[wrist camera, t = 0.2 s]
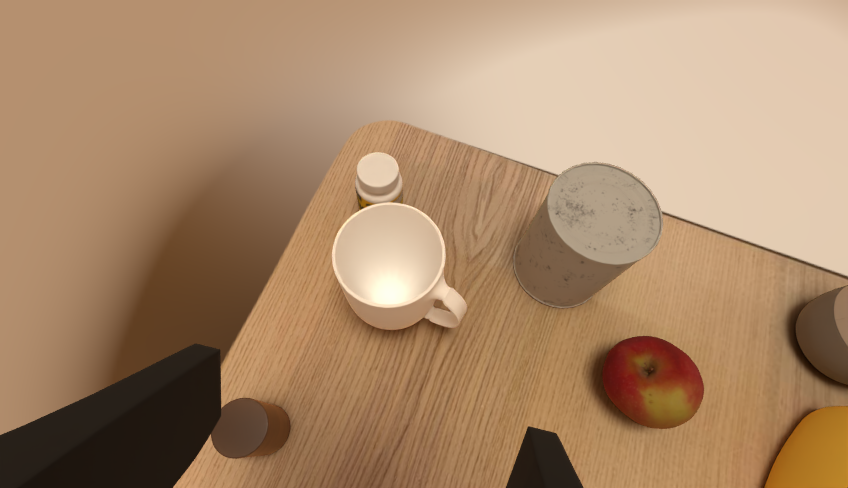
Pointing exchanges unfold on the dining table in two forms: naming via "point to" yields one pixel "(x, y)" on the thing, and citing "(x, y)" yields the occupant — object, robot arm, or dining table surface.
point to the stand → (250, 429)
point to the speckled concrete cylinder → (586, 234)
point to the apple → (652, 382)
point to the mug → (394, 268)
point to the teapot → (814, 452)
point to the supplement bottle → (378, 180)
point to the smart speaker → (826, 333)
